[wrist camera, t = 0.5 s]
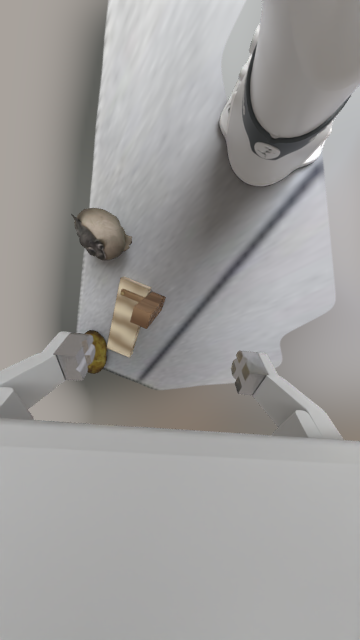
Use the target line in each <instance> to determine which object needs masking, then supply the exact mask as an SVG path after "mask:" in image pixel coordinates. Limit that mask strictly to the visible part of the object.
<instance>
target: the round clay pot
mask: <svg viewBox="0 0 360 640" xmlns="http://www.w3.org/2000/svg"><path fill="white" fill-rule="evenodd" d="M72 216H73V215H72ZM73 218H74V220H75V229H76V231H77V235H78V236H79V237H80V243H81V245H82V246H84V248H85V249H86V250H87V251H88V252H89V254H90V255H93V256H96V257H98V258H99V259H101V260H111V259H114V258H116V257H118V256H119V255H120V254H121V253H122V252H123V251H126V250H127V249H128V248H129V245H130V244H131V243H132V237H131V236H128V235H126V234H125V232H124V229H123V228H122V227H121V225H120V222H119V220H118V219H117V217H116V216H114V215H112V214H111V213H109V212H107V211H105V210H103V209H98V208H89V209H84V210H83V211H81V213H79V215H78V216H77V218H76V217H74V216H73Z"/></svg>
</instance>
